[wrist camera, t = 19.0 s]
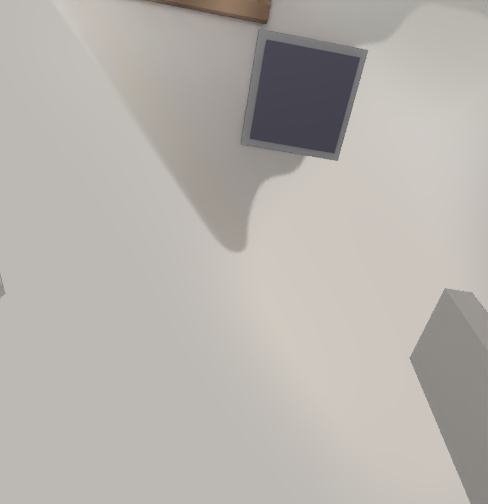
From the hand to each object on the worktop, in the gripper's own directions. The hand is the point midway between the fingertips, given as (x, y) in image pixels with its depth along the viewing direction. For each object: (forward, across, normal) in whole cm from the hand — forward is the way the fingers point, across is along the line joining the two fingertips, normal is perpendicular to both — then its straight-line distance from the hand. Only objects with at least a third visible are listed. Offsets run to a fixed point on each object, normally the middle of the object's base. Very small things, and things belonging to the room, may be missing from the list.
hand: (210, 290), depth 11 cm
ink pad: (+26, +3, +3) cm, 26 cm away
